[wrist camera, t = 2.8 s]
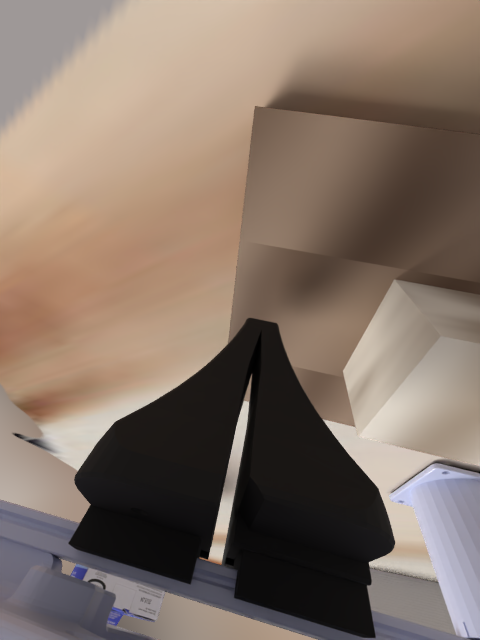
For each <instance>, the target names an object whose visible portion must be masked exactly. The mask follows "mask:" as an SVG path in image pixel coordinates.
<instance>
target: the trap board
mask: <svg viewBox="0 0 480 640" xmlns="http://www.w3.org/2000/svg"><path fill="white" fill-rule="evenodd" d="M394 279H395V280H401V281H406V282H412V283H417V284H423V285H428V286H434V287H440V288H445V289H451V290H456V291H462V292H467V293H473V294H478V295H480V134H473V133H465V132H457V131H449V130H441V129H433V128H425V127H417V126H409V125H401V124H393V123H385V122H377V121H369V120H361V119H353V118H345V117H337V116H329V115H321V114H313V113H305V112H297V111H289V110H281V109H273V108H265V107H257V106H255V110H254V119H253V127H252V136H251V145H250V154H249V163H248V172H247V181H246V189H245V198H244V207H243V216H242V225H241V234H240V243H239V251H238V260H237V269H236V278H235V287H234V296H233V305H232V313H231V322H230V331H229V340H228V344H229V342H230V341H231V340H232V339H233V338H234V337H235V335H236V334H237V333H238V332H239V330H240V329H241V328H242V326H243V325H244V323H245V321H246V319H248V318H254V319H259V320H264V321H269V322H274V323H277V324H278V326H279V331H280V335H281V338H282V342H283V345H284V348H285V350H286V353H287V356H288V358H289V361H290V363H291V365H292V368H293V370H294V372H295V374H296V376H297V378H298V380H299V382H300V384H301V386H302V388H303V389H304V391H305V393H306V395H307V396H308V398H309V400H310V401H311V403H312V405H313V406H314V408H315V409H316V411H317V412H318V414H319V415H320V417H321V418H322V419H324V420H329V421H333V422H337V423H341V424H345V425H350V426H354V427H356V426H355V422H354V418H353V413H352V409H351V404H350V400H349V396H348V391H347V387H346V383H345V378H344V374H343V370H344V368H345V366H346V365H347V363H348V361H349V359H350V358H351V356H352V354H353V352H354V350H355V349H356V347H357V345H358V343H359V341H360V340H361V338H362V336H363V334H364V333H365V331H366V329H367V327H368V325H369V324H370V322H371V320H372V318H373V317H374V315H375V313H376V311H377V309H378V308H379V306H380V304H381V302H382V301H383V299H384V297H385V295H386V293H387V292H388V290H389V288H390V286H391V285H392V283H393V281H394ZM251 379H252V375H251V378H250V381H249V385H248V388H247V391H246V395H245V398H244V401H250V390H251Z"/></svg>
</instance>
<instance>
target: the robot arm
mask: <svg viewBox="0 0 480 640" xmlns="http://www.w3.org/2000/svg"><path fill="white" fill-rule="evenodd" d="M251 375H252V379H251V390H250V401H249V412H248V422H247V430H246V435H245V441H244V446H243V452H242V457H241V463H240V468H239V474H238V479H237V485H236V490H235V496H234V501H233V506H232V512H231V517H230V523H229V528H228V533H227V539H226V544H225V549H224V555H223V560H222V565H219V564H215V563H212V562H209V561H205V560H202V559H199V557H201V558H205V559H208V557H209V552H210V548H211V545H212V540H213V535H214V531H215V526H216V521H217V516H218V511H219V507H220V502H221V497H222V492H223V487H224V483H225V478H226V473H227V468H228V463H229V459H230V454H231V449H232V444H233V440H234V435H235V430H236V426H237V422H238V418H239V414H240V411H241V408H242V404H243V401H244V398H245V395H246V391H247V388H248V385H249V381H250V378H251ZM74 480H75V485H76V486H77V488H78V490H79V491H80V492H81V493H82V495H83V496H84V497H85V498H86V499H87V501H88V502H89V503H90V504H91V505H90V507H89V509H88V511H87V512H86V514H85V516H84V517H83V519H82V521H81V522H80V523H77V522H74V521H70V520H67V519H64V518H61V517H57V516H54V515H51V514H47V513H44V512H40V511H37V510H34V509H30V508H27V507H24V506H20V505H17V504H13V503H10V502H7V501H3V500H0V640H159V639H156V638H152V637H149V636H146V635H143V634H140V633H137V632H134V631H130V630H127V629H124V628H121V627H118V626H114V625H111V624H108V623H107V621H108V617H109V615H110V612H111V610H112V607H113V605H114V602H115V600H116V595H115V594H114V593H112V592H109V591H107V590H104V589H102V588H100V587H97V586H96V585H95V584H92V583H89V582H86V581H83V580H80V579H77V578H75V577H72V576H69V575H66V574H63V573H61V570H62V561H61V559H63V560H66V561H69V562H72V563H76V564H79V565H82V566H85V567H88V568H92V569H95V570H98V571H101V572H104V573H107V574H111V575H114V576H117V577H120V578H123V579H127V580H130V581H133V582H136V583H139V584H142V585H146V586H149V587H152V588H155V589H158V590H162V591H165V592H168V593H172V594H174V595H178V596H181V597H184V598H187V599H190V600H194V601H197V602H200V603H203V604H207V605H210V606H213V607H216V608H219V609H222V610H225V611H229V612H232V613H235V614H238V615H241V616H245V617H248V618H251V619H254V620H258V621H260V622H264V623H267V624H270V625H273V626H276V627H280V628H283V629H286V630H289V631H293V632H296V633H299V634H302V635H305V636H308V637H311V638H315V639H318V640H480V473H476V472H472V471H468V470H464V469H460V468H456V467H451V466H447V465H443V464H438V463H436V464H432V465H430V466H429V467H428V468H426V469H425V470H423V471H422V472H421V473H419V474H418V475H416V476H415V477H414V478H412V479H411V480H409V481H408V482H407V483H405V484H404V485H403V486H401V487H400V488H398V489H397V490H396V491H394V492H393V493H391V494H390V495H389V497H390V500H391V501H393V502H396V503H400V504H404V505H407V506H411V507H413V509H414V511H415V514H416V517H417V520H418V523H419V526H420V529H421V532H422V535H423V538H424V541H425V544H426V547H427V550H428V553H429V556H430V559H431V562H432V564H433V567H434V570H435V573H436V576H437V579H438V582H439V585H440V588H441V591H442V594H443V597H444V600H445V603H446V606H447V609H448V612H449V615H450V617H451V620H452V623H453V626H454V629H455V632H456V635H454V634H451V633H447V632H444V631H440V630H437V629H434V628H430V627H427V626H424V625H420V624H417V623H414V622H410V621H407V620H404V619H400V618H397V617H393V616H390V615H387V614H383V613H380V612H377V611H373V610H371V606H370V600H369V594H368V589H367V585H368V586H369V585H371V583H372V579H371V573H370V568H369V562H370V561H373V560H375V559H378V558H380V557H382V556H385V555H387V554H388V553H390V552H391V551H392V550H393V548H394V545H395V540H394V536H393V532H392V528H391V525H390V521H389V518H388V515H387V512H386V508H385V506H384V503H383V500H382V498H381V495H380V492H379V489H378V488H377V486H376V485H375V484H374V483H373V482H372V481H371V480H370V478H369V477H368V476H367V475H366V474H365V473H364V472H363V470H362V469H361V468H360V467H359V466H358V465H357V464H356V462H355V461H354V460H353V459H352V458H351V457H350V456H349V454H348V453H347V452H346V451H345V449H344V448H343V447H342V445H341V444H340V443H339V442H338V440H337V439H336V438H335V436H334V435H333V434H332V432H331V431H330V429H329V428H328V427H327V425H326V424H325V422H324V421H323V419H322V418H321V417H320V415H319V414H318V412H317V411H316V409H315V408H314V406H313V405H312V403H311V401H310V400H309V398H308V396H307V395H306V393H305V391H304V389H303V388H302V386H301V384H300V382H299V380H298V378H297V376H296V374H295V372H294V370H293V368H292V365H291V363H290V361H289V358H288V356H287V353H286V350H285V348H284V345H283V342H282V338H281V335H280V331H279V326H278V324H277V323H274V322H269V321H264V320H259V319H254V318H248V319H246V321H245V323H244V325H243V326H242V328H241V329H240V330H239V332H238V333H237V334H236V335H235V337H234V338H233V339H232V340H231V341H230V342H229V344H228V345H227V346H226V347H225V348H224V349H223V350H222V351H221V352H220V353H219V354H218V355H217V356H216V357H215V358H214V359H212V360H211V361H210V362H209V363H208V364H207V365H206V366H204V367H203V368H202V369H201V370H200V371H198V372H197V373H196V374H194V375H193V376H192V377H190V378H189V379H188V380H186V381H185V382H184V383H182V384H181V385H179V386H178V387H176V388H175V389H173V390H171V391H170V392H168V393H167V394H165V395H163V396H162V397H160V398H158V399H157V400H155V401H154V402H152V403H150V404H148V405H146V406H145V407H143V408H141V409H139V410H137V411H135V412H133V413H131V414H129V415H127V416H125V417H124V418H122V419H120V420H118V421H116V422H115V423H114V424H113V425H112V426H111V427H110V429H109V430H108V431H107V432H106V433H105V435H104V436H103V437H102V438H101V439H100V441H99V442H98V443H97V444H96V446H95V447H94V449H93V450H92V452H91V453H90V455H89V456H88V457H87V459H86V460H85V462H84V463H83V465H82V466H81V468H80V469H79V471H78V472H77V474H76V475H75V479H74ZM59 558H60V559H59Z"/></svg>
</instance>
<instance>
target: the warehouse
mask: <svg viewBox="0 0 480 640" xmlns="http://www.w3.org/2000/svg"><path fill="white" fill-rule="evenodd" d="M370 573H371V579H372V583H371V585H369V586H368V585H367V589H368V594H369V600H370V606H371V610H373V611H377V612H380V613H383V614H387V615H390V616H393V617H397V618H400V619H404V620H407V621H410V622H414V623H417V624H420V625H424V626H427V627H430V628H434V629H437V630H440V631H444V632H447V633H451V634H454V635H456V632H455V629H454V626H453V623H452V620H451V617H450V615H449V612H448V609H447V606H446V603H445V600H444V597H443V594H442V591H441V588H440V585H439V583H437V582H432V581H428V580H423V579H418V578H413V577H409V576H404V575H399V574H395V573H390V572H385V571H380V570H376V569H371V568H370Z"/></svg>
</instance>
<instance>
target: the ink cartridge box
mask: <svg viewBox="0 0 480 640" xmlns="http://www.w3.org/2000/svg"><path fill="white" fill-rule="evenodd" d="M70 576H72V577H75V578H77V579H80V580H83V581H86V582H89V583H92V584H95V585H96V586H97V587H100V588H102V589H104V590H107V591H109V592H112V593H114V594H115V595H116V600H115V602H114V605H113V607H112V610H111V612H110V615H109V617H108V621H107V623H108V624H111V625H114V626H116V625H117V624H118V622H119V620H120V619H121V617H122V616H123V614H124V615H128V616H132V617H135V618H139V619H143V620H147V621H153V622H155V621H156V620H157V618H158V614H159V611H160V608H161V605H162V601H163V598H164V595H165V591H162V590H158V589H155V588H152V587H149V586H146V585H142V584H139V583H136V582H133V581H130V580H127V579H123V578H120V577H117V576H114V575H111V574H107V573H104V572H101V571H98V570H95V569H92V568H88V567H85V566H82V565H79V564H76V566H75V568H74V570H73V571H72V573H71V575H70Z"/></svg>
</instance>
